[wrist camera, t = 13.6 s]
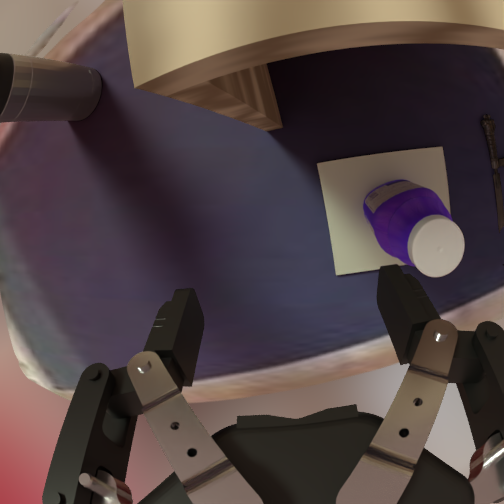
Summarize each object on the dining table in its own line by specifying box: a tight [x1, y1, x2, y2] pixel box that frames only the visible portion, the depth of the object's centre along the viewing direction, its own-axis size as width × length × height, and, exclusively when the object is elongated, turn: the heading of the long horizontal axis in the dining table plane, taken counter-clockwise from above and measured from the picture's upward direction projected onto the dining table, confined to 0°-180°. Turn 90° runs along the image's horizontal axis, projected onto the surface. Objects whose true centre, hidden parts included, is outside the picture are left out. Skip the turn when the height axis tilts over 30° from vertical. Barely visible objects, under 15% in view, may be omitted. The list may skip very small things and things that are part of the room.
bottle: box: [363, 179, 465, 277], centre depth 24 cm, size 7×6×17 cm
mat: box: [317, 147, 450, 275], centre depth 33 cm, size 16×14×1 cm
